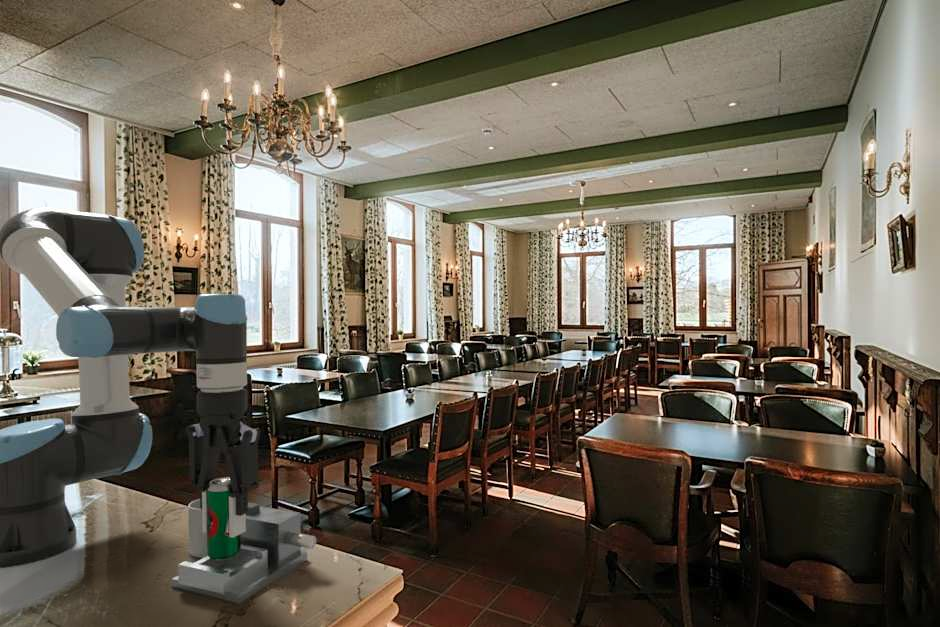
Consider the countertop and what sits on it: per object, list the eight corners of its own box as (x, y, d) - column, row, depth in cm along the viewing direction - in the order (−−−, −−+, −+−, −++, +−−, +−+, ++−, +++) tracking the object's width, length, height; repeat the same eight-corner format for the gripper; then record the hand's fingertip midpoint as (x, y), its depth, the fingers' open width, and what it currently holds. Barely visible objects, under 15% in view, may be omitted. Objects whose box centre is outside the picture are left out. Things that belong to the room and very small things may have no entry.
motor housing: (167, 590, 88) (167, 529, 88) (246, 548, 104) (245, 496, 104) (255, 611, 82) (254, 546, 82) (324, 563, 97) (324, 508, 97)
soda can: (232, 561, 87) (231, 485, 87) (200, 561, 87) (199, 485, 87) (246, 547, 92) (245, 476, 92) (215, 547, 92) (215, 476, 92)
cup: (199, 562, 98) (199, 512, 98) (175, 547, 104) (174, 500, 104) (238, 548, 104) (238, 501, 104) (213, 535, 110) (212, 490, 110)
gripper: (161, 389, 90) (163, 532, 90) (248, 394, 83) (250, 549, 83) (199, 383, 97) (201, 516, 97) (282, 387, 90) (284, 530, 90)
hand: (224, 531), depth 90 cm, fingers closed on soda can, 5 cm apart
